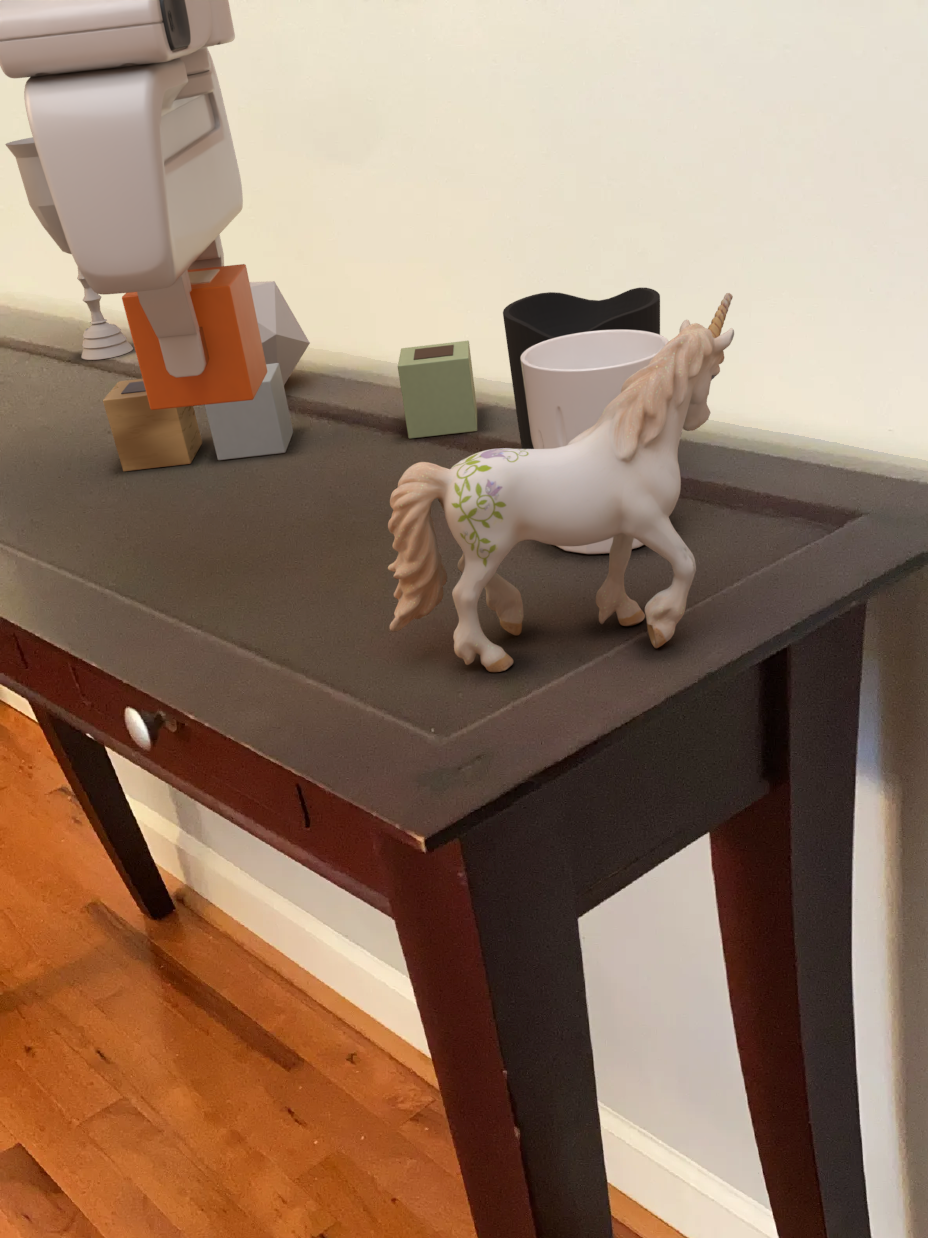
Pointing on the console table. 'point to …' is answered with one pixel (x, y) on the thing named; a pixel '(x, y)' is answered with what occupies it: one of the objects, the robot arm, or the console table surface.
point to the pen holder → (569, 328)
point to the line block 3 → (438, 389)
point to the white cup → (581, 387)
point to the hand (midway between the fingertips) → (202, 355)
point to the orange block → (228, 341)
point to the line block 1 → (150, 429)
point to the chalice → (100, 335)
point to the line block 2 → (253, 421)
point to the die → (278, 328)
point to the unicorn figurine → (564, 502)
